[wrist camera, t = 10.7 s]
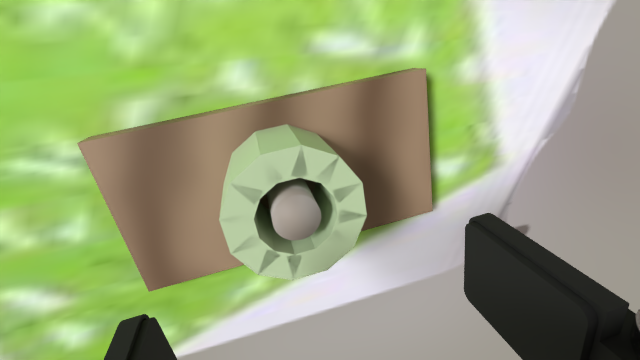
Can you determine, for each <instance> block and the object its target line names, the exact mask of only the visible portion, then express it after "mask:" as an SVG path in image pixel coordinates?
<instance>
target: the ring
mask: <svg viewBox="0 0 640 360" xmlns="http://www.w3.org/2000/svg"><path fill="white" fill-rule="evenodd" d="M296 178H303V179H307V180H311V181H315V182H316V184H315V187H314V190H313V193H312V195H313V197H314V199H315V201H316V202H317V204H318V206H319V208H320V211H321V222H320V224H319V227H318V228H317V230H316V231H315V232H314V233H313V234H312V235H310V236H309V237H307V238H305V239H302V240H288V239H285V238H283V237H281V236H280V235H279V234H278V233H277V232H276V231H275V229H274V227H273V223H272V218H271V213H270V209H267V208H266V207H265V206H264V205H262V204H261V203H260V202H259V200H260V198H261V197H263V196H264V195H265V194H266V193H267V192H268V191H269V190H270V189H271V188H272V187H274V186H275V185H276V184H277V183H280V182H284V181H288V180H292V179H296ZM366 217H367V212H366V205H365V198H364V190H363V183H362V181H361V180H360V179H359V178H358V177H357V176H356V175H355V173H354V172H353V171H352V170H351V169H350V168H349V167H348V165H347V164H346V163H345V162H344V161H343V160H342V159H341V158H340V156H339V155H338V154H337V153H336V152H335V151H334V150H333V149H332V148H331V147H330V146H329V145H328V144H327V143H326V142H325V141H324V140H323V139H322V138H321V137H320V136H319V135H317V134H316V133H314V132H310V131H307V130H304V129H301V128H297V127H294V126H291V125H288V124H286V125H281V126H277V127H272V128H268V129H264V130H259V131H255V132H254V133H253V134H252V135H251V136H250V137H249V138H248V139H247V140H246V141H244V142H243V143H242V144H241V145H240V146H239V147H238V148H237V149H236V150H235V151H234V152H233V153H232V155H231V158H230V162H229V166H228V169H227V173H226V177H225V180H224V185H223V193H222V201H221V209H220V217H219V221H220V224H221V227H222V230H223V233H224V236H225V239H226V242H227V245H228V247H229V250H230V254H232V255H233V256H234V257H236V258H237V259H238V260H239V261H241V262H242V263H243V264H245V265H246V266H247V267H249V268H250V269H251V270H252V271H254V272H255V273H256V274H258V275H262V276H269V277H275V278H282V279H289V280H296V279H299V278H302V277H306V276H309V275H312V274H316V273H319V272H322V271H326V270H328V269H329V268H330V267H331V266H333V265H334V264H335V263H336V262H337V261H338V260H339V259H341V258H342V257H343V256H344V255H345V254H346V253H348V252H349V251H350V250H351V249H352V248H353V247H354V246H355V243H356V241H357V238H358V236H359V234H360V231H361V229H362V226H363V224H364V222H365V219H366Z"/></svg>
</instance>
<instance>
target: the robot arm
mask: <svg viewBox="0 0 640 360" xmlns="http://www.w3.org/2000/svg"><path fill="white" fill-rule="evenodd" d="M464 270H465V271H464V292H465V295H466V297H467V299H468V300H469V301H470V303H471V304H472V305H473V306H474V307H475V308H476V309H477V310H478V311H479V312H480V313H481V314H482V316H483V317H484V318H485V319H486V320H487V321H488V322H489V323H490V324H491V325H492V327H493V328H494V329H495V330H496V331H497V332H498V333H499V334H500V335H501V336H502V338H503V339H504V340H505V341H506V342H507V343H508V344H509V345H510V346H511V347H512V349H513V350H514V351H515V352H516V353H517V354H518V355H519V356H520V357H521V358H522V359H523V360H640V309H639V310H638V312H637V313H636V314H635V313H634V312H632V311H631V310H629V309H628V307H629V303H628V302H626V301H625V300H623V299H622V298H620V297H619V296H617V295H615V294H614V293H612V292H611V291H609V290H608V289H606V288H605V287H603V286H602V285H600V284H599V283H597V282H595V281H594V280H593V279H591V278H589V277H588V276H586V275H585V274H583V273H582V272H580V271H579V270H577V269H576V268H574V267H573V266H571V265H569V264H568V263H566V262H565V261H564V260H562V259H560V258H559V257H557V256H556V255H554V254H553V253H551V252H550V251H548V250H547V249H545V248H544V247H542V246H540V245H539V244H538V243H536V242H534V241H533V240H531V239H530V238H528V237H527V236H525V235H524V234H522V233H521V232H519V231H518V230H516V229H515V228H513V227H512V226H510V225H508V224H507V223H505V222H504V221H502V220H501V219H499V218H498V217H496V216H495V215H493V214H491V213H486V214H483V215H479V216H476V217H473V218H471V219H470V220H469V224H467V225H466V227H465V268H464ZM104 360H177V358H176V356H175V354H174V352H173V350H172V348H171V347H170V345H169V343H168V341H167V339H166V337H165V335H164V333H163V331H162V329H161V327H160V325H159V323H158V321H157V320H156V318H154V317H153V318H149V317H148V316H147V315H146V314H143V315H140V316H136V317H133V318H129V319H126V320H123V321H121V322H120V323H119V325H118V327H117V330H116V332H115V334H114V337H113V339H112V341H111V344H110V346H109V349H108V351H107V353H106V356H105V358H104Z"/></svg>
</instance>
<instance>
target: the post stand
mask: <svg viewBox="0 0 640 360" xmlns="http://www.w3.org/2000/svg"><path fill="white" fill-rule="evenodd" d="M286 124H288V125H291V126H294V127H297V128H301V129H304V130H307V131H310V132H314V133H316V134H317V135H319V136H320V137H321V138H322V139H323V140H324V141H325V142H326V143H327V144H328V145H329V146H330V147H331V148H332V149H333V150H334V151H335V152H336V153H337V154H338V155H339V156H340V158H341V159H342V160H343V161H344V162H345V163H346V164H347V165H348V167H349V168H350V169H351V170H352V171H353V172H354V173H355V175H356V176H357V177H358V178H359V179H360V180H361V181H362V183H363V190H364V198H365V205H366V212H367V217H366V219H365V222H364V224H363V226H362V229H361V231H364V230H367V229H371V228H374V227H378V226H381V225H385V224H388V223H392V222H395V221H399V220H402V219H406V218H409V217H413V216H416V215H420V214H423V213H427V212H430V211H432V190H431V168H430V146H429V125H428V103H427V82H426V69H422V68H412V69H407V70H402V71H398V72H393V73H388V74H383V75H379V76H374V77H369V78H365V79H360V80H355V81H351V82H346V83H341V84H336V85H332V86H327V87H322V88H318V89H313V90H308V91H303V92H299V93H294V94H289V95H285V96H280V97H275V98H270V99H266V100H261V101H256V102H252V103H247V104H242V105H237V106H233V107H228V108H223V109H219V110H214V111H209V112H205V113H200V114H195V115H190V116H186V117H181V118H176V119H172V120H167V121H162V122H157V123H153V124H148V125H143V126H139V127H134V128H129V129H124V130H120V131H115V132H110V133H106V134H101V135H96V136H91V137H88V138H86V139H85V140H83V141H81V142H79V143H77V144H78V146H79V148H80V150H81V152H82V154H83V156H84V158H85V160H86V162H87V164H88V166H89V169H90V171H91V173H92V175H93V177H94V179H95V181H96V183H97V185H98V187H99V189H100V191H101V193H102V195H103V197H104V200H105V202H106V204H107V206H108V208H109V210H110V212H111V214H112V216H113V218H114V220H115V222H116V224H117V226H118V228H119V231H120V233H121V235H122V237H123V239H124V241H125V243H126V245H127V247H128V249H129V251H130V253H131V255H132V257H133V259H134V262H135V264H136V266H137V268H138V270H139V272H140V274H141V276H142V278H143V280H144V282H145V284H146V286H147V288H148V290H149V291H153V290H156V289H160V288H163V287H167V286H170V285H174V284H177V283H181V282H184V281H188V280H191V279H195V278H199V277H202V276H206V275H209V274H213V273H216V272H220V271H223V270H227V269H230V268H234V267H237V266H241V265H244V264H243V263H242V262H241V261H239V260H238V259H237V258H236V257H234V256H233V255H232V254H230V250H229V247H228V245H227V242H226V239H225V236H224V233H223V230H222V227H221V224H220V221H219V217H220V209H221V201H222V193H223V185H224V180H225V177H226V173H227V169H228V166H229V162H230V158H231V155H232V153H233V152H234V151H235V150H236V149H237V148H238V147H239V146H240V145H241V144H242V143H243V142H244V141H246V140H247V139H248V138H249V137H250V136H251V135H252V134H253V133H254V132H255V131H259V130H264V129H268V128H272V127H277V126H281V125H286ZM315 184H316V182H315V181H311V180H307V179H303V178H296V179H292V180H288V181H284V182H280V183H277V184H276V185H275V186H274V187H272V188H271V189H270V190H269V191H268V192H267V193H266V194H265V195H264V196H263V197H261V198H260V200H259V202H260V203H261V204H262V205H264V206H265V207H266V208H267V209H270V213H271V218H272V223H273V227H274V229H275V231H276V232H277V233H278V234H279V235H280V236H281V237H283V238H285V239H288V240H302V239H305V238H307V237H309V236H310V235H312V234H313V233H314V232H315V231H316V230H317V228H318V227H319V224H320V222H321V211H320V208H319V206H318V204H317V202H316V201H315V199H314V197H313V195H312V193H313V190H314V187H315Z"/></svg>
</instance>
